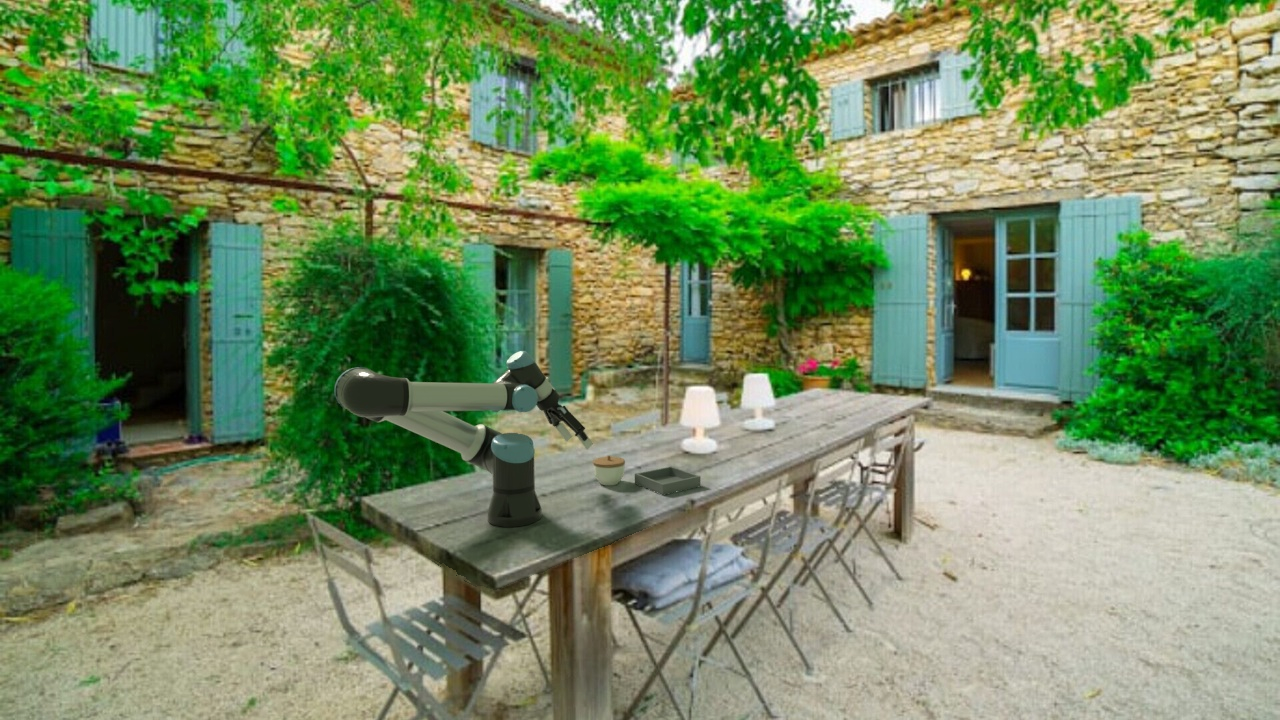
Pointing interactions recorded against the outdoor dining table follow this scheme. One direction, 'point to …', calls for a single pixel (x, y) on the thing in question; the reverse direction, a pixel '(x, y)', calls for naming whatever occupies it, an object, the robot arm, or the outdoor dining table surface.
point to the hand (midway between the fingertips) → (579, 442)
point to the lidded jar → (609, 470)
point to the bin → (667, 480)
